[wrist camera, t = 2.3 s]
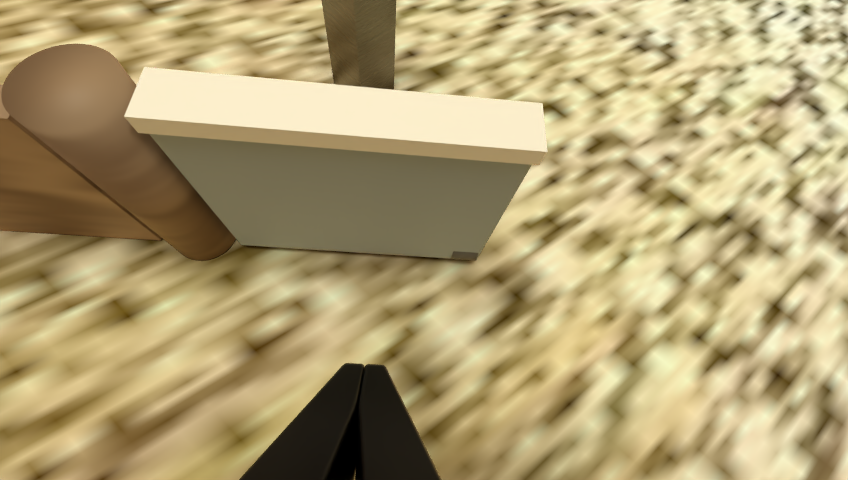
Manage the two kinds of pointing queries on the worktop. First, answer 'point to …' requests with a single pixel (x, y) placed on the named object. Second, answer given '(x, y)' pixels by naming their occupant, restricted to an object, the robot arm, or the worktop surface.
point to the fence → (92, 159)
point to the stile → (361, 41)
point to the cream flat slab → (342, 160)
